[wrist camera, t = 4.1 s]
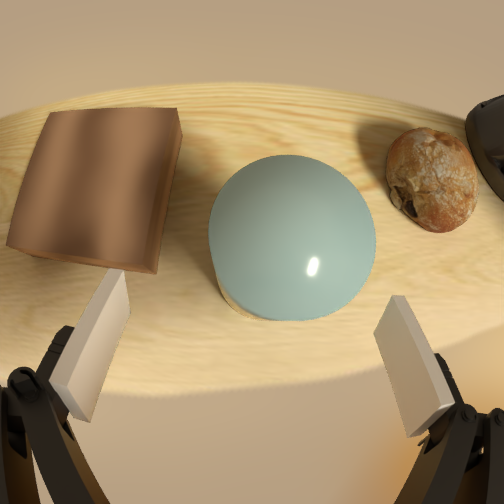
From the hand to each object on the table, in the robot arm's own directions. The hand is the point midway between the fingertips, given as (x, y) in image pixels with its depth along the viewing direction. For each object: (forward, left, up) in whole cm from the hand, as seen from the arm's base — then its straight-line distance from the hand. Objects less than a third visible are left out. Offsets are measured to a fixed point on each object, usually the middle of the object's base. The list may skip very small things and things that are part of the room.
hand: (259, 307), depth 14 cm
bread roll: (-16, -13, -8) cm, 22 cm away
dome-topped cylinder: (-1, -3, -8) cm, 9 cm away
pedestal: (+13, -8, -8) cm, 17 cm away
